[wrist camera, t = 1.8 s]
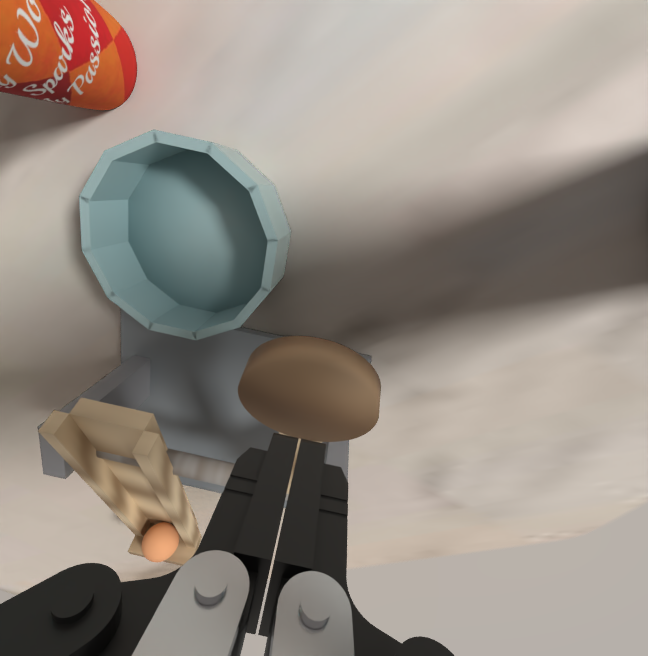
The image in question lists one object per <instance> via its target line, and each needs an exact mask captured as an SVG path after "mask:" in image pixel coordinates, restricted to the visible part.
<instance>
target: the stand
mask: <svg viewBox="0 0 648 656" xmlns="http://www.w3.org/2000/svg"><path fill="white" fill-rule="evenodd" d="M281 337H283V336H279V335H274V334H270V333H265V332H261V331H256V330H252V329H247V328H243V327H240V328H236V329H233V330H229V331H226V332H223V333H219V334H216V335H212V336H209V337H206V338H202V339H199V340H192V339H188V338H183V337H179V336H174V335H170V334H166V333H161V332H157V331H152V330H149V329H147V328H146V327H145V326H143V325H142V324H141V323H140V322H138V321H137V320H136V319H134V318H133V317H132V316H130V315H129V314H128V313H127V312H125V311H124V310H123V309H121V365H120V366H119V367H117V368H116V369H115V370H113V371H112V372H111V373H109V374H108V375H107V376H105V377H104V378H103V379H101V380H100V381H98V382H97V383H96V384H94V385H93V386H92V387H90V388H89V389H88V390H86V391H85V392H84V393H82V394H81V395H80V396H78V397H77V398H76V399H74V400H73V401H72V402H70V403H69V404H68V405H66V406H65V407H64V408H62V409H61V410H60V412H64V413H70V412H71V410H72V409H73V408H74V406H75V405H76V404H77V402H78V401H79V400H80V398H81V397H82V398H86V399H91V400H95V401H99V402H104V403H108V404H113V405H117V406H122V407H126V408H130V409H135V410H139V411H144V412H148V413H153V414H154V416H155V419H156V421H157V424H158V426H159V429H160V431H161V434H162V436H163V439H164V441H165V444H166V446H167V448H169V449H173V450H177V451H182V452H186V453H191V454H195V455H199V456H204V457H208V458H213V459H217V460H222V461H226V462H230V463H236V460H237V459H238V458H239V457H240V456H241V455H242V454H243V453H244V452H246V451H247V450H248V449H249V448H250V447H252V448H256V449H261V450H265V451H268V448H269V445H270V442H271V439H272V436H273V433H279V432H278V431H276V430H273V429H271V428H269V427H268V426H266V425H264V424H262V423H261V422H259V421H258V420H257V419H255V418H254V417H253V416H252V415H251V414H250V413H249V412H248V411H247V410H246V409H245V408H244V406H243V405H242V403H241V401H240V399H239V396H238V385H239V382H240V379H241V377H242V374H243V372H244V369H245V367H246V364H247V362H248V359H249V357H250V355H251V354H252V352H253V351H254V350H255V349H256V348H257V347H259V346H260V345H261V344H263V343H265V342H267V341H270V340H273V339H276V338H281ZM358 354H359V353H358ZM359 355H361V356H362V357H363V358H365V359H366V360H367V361H368V362H369V363H370V364H371V356H368V355H364V354H359ZM44 423H45V422H43V423H42V424H41V425H39V426H38V430H39V429H40V428H41V426H42V425H43V424H44ZM39 440H40V449H41V457H42V466H43V474H46V475H50V476H54V477H59V478H63V479H66V478H67V477H68V476H69V475H70V474H71V473H72V472H73V471H74V469H73V468H72V467H71V466H70V465H69V464H68V463H67V462H66V461H65V460H64V459H63V457H62V456H61V455H60V454H59V453H58V452H57V451H56V450H55V449H54V448H53V447H52V446H51V445H50V444H49V443H48V441H47V440H46V439H45V438H44V437H43V436H42V435H41V434H40V433H39ZM322 443H324V444H326V451H325V460H324V463H325V464H329V465H334V466H339V467H341V468H342V470H343V473H344V475H345V477H346V479H347V482H348V454H349V440H346V441H339V442H322ZM179 478H180V481H181V483H182V484H183V485H187V486H192V487H196V488H200V489H205V490H209V491H214V492H218V493H222V492H223V491H224V488H225V486H221V485H217V484H212V483H208V482H203V481H199V480H195V479H190V478H186V477H181V476H179ZM286 504H287V500H285V503H284V508H286Z"/></svg>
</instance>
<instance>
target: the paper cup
mask: <svg viewBox="0 0 648 656" xmlns="http://www.w3.org/2000/svg"><path fill="white" fill-rule="evenodd" d="M136 77H137V62H136V56H135V52H134V48H133V46H132V43H131V41H130V39H129V37H128V35H127V33H126V32H125V30H124V29H123V28H122V26H121V25H120V24H119V23H118V22H117V21H116V20H115V19H114V18H113V17H112V16H111V15H110V14H109V13H108V12H107V11H106V10H105V9H103V8H102V7H101V6H100V5H99V4H98V3H97V2H95V1H94V0H0V92H5V93H10V94H15V95H20V96H25V97H30V98H35V99H40V100H45V101H50V102H55V103H60V104H65V105H71V106H76V107H82V108H87V109H94V110H110V109H114V108H116V107H119V106H120V105H122V104H123V103H124V102H125V101H126V100H127V99H128V98H129V96H130V95H131V93H132V91H133V89H134V86H135V82H136Z"/></svg>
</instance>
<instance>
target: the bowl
mask: <svg viewBox="0 0 648 656" xmlns="http://www.w3.org/2000/svg"><path fill="white" fill-rule="evenodd" d="M79 204H80V225H81V245H82V252H83V254H84V255H85V257H86V259H87V261H88V263H89V265H90V266H91V268H92V270H93V272H94V274H95V275H96V277H97V279H98V281H99V283H100V285H101V286H102V288H103V290H104V292H105V294H106V296H107V297H108V299H110V300H111V301H112V302H114V303H115V304H116V305H118V306H119V307H120V308H121V309H123V310H124V311H125V312H127V313H128V314H129V315H130V316H132V317H133V318H134V319H136V320H137V321H138V322H140V323H141V324H142V325H143V326H145V327H146V328H147V329H149V330H152V331H157V332H161V333H166V334H170V335H174V336H179V337H183V338H188V339H192V340H199V339H202V338H206V337H209V336H212V335H216V334H219V333H223V332H226V331H229V330H233V329H236V328H240V327H241V325H242V324H243V323H244V322H245V321H246V320H247V318H248V317H249V316H250V315H251V314H252V313H253V311H254V310H255V309H256V308H257V307H258V306H259V304H260V303H261V302H262V301H263V300H264V299H265V298H266V296H267V295H268V294H269V293H270V292H271V291H272V290H273V288H274V287H275V286H276V285H277V284H278V282H279V281H280V280H281V279H282V278H283V277H284V272H285V266H286V260H287V254H288V248H289V242H290V236H291V230H290V227H289V224H288V221H287V218H286V216H285V213H284V210H283V207H282V204H281V201H280V199H279V196H278V193H277V190H276V187H275V185H274V184H273V183H272V182H271V181H270V180H269V179H268V178H267V177H265V176H264V175H263V174H262V173H261V172H260V171H259V170H258V169H257V168H256V167H255V166H254V165H252V164H251V163H250V162H249V161H248V160H247V159H246V158H245V157H244V156H243V155H242V154H241V153H240V152H238V151H237V150H235V149H232V148H229V147H225V146H222V145H219V144H216V143H213V142H208V141H204V140H199V139H194V138H190V137H185V136H181V135H176V134H172V133H167V132H163V131H158V130H151V131H149V132H147V133H144V134H142V135H140V136H138V137H135V138H133V139H131V140H128V141H126V142H124V143H121V144H119V145H117V146H114V147H112V148H110V149H108V150H105V151H104V153H103V154H102V156H101V158H100V160H99V162H98V163H97V165H96V167H95V169H94V171H93V172H92V174H91V176H90V178H89V180H88V181H87V183H86V185H85V187H84V189H83V190H82V192H81V194H80V196H79Z"/></svg>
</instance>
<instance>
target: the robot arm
mask: <svg viewBox="0 0 648 656" xmlns="http://www.w3.org/2000/svg"><path fill="white" fill-rule="evenodd" d="M298 439H299V438H297V437H292V436H288V435H283V434H279V433H273V436H272V439H271V442H270V445H269V448H268V451H265V450H261V449H256V448H252V447H250V448H249V449H248V450H247V451H246V452H244V453H243V454H242V455H241V456H240V457H239V458H238V459H237V460H236V463H235V465H234V467H233V469H232V472H231V474H230V477H229V479H228V481H227V483H226V486H225V488H224V491H223V492H222V495H221V497H220V499H219V502H218V504H217V506H216V509H215V511H214V513H213V515H212V518H211V520H210V522H209V525H208V527H207V529H206V532H205V534H204V536H203V538H202V541H201V543H200V545H199V547H198V549H197V551H196V552H195V554H194V555H193V556H192V557H191V558H190V559H189V560H188V561H187V562H186V563H185V564H184V565H183V566H181V567H180V568H178V569H177V570H175V571H173V572H171V573H169V574H167V575H164V576H161V577H157V578H151V579H144V580H136V581H128V582H120V579H119V577H118V575H117V574H116V572H115V571H114V570H113V569H111V568H110V567H108V566H106V565H102V564H98V563H85V564H80V565H76V566H73V567H70V568H68V569H66V570H63V571H61V572H59V573H57V574H56V575H54V576H52V577H50V578H48V579H46V580H44V581H43V582H41V583H39V584H37V585H35V586H33V587H31V588H30V589H28V590H26V591H24V592H22V593H20V594H18V595H16V596H15V597H13V598H11V599H9V600H7V601H5V602H3V603H2V604H0V656H240V654H241V650H242V646H243V642H244V638H245V634H246V632H247V633H251V634H255V633H256V628H257V624H258V619H259V614H260V610H261V606H262V601H263V597H264V592H265V588H266V584H267V579H268V575H269V570H270V566H271V561H272V557H273V552H274V548H275V543H276V539H277V534H278V530H279V525H280V521H281V516H282V512H283V507H284V503H285V498H286V494H287V489H288V485H289V480H290V476H291V471H292V467H293V462H294V457H295V453H296V448H297V444H298ZM325 451H326V444H324V443H320V442H315V441H311V440H306V439H302V438H301V441H300V445H299V450H298V454H297V459H296V463H295V468H294V472H293V477H292V481H291V486H290V490H289V495H288V500H287V504H286V509H285V513H284V518H283V523H282V527H281V532H280V537H279V541H278V546H277V551H276V555H275V560H274V564H273V569H272V574H271V578H270V583H269V588H268V593H267V597H266V602H265V606H264V611H263V616H262V621H261V625H260V630H259V635H262V636H266V637H268V638H267V643H266V648H265V653H264V656H454V655H453V654H452V653H451V652H450V651H449V650H448V649H447V648H446V647H444V646H443V645H442V644H440V643H438V642H437V641H435V640H432V639H430V638H426V637H413V638H410V639H408V640H406V641H405V642H403V643H402V644H401V643H400V642H398V641H397V640H395V639H393V638H392V637H390V636H389V635H387V634H385V633H384V632H382V631H381V630H379V629H377V628H376V627H375V626H373V625H372V624H370V623H369V622H368V621H367V620H366V619H365V618H363V616H362V615H361V614H360V613H359V611H358V610H357V608H356V607H355V605H354V604H353V601H352V599H351V597H350V594H349V592H348V587H347V582H346V566H347V515H348V504H347V502H348V482H347V479H346V477H345V475H344V473H343V470H342V468H341V467H339V466H334V465H329V464H325V463H324V460H325Z"/></svg>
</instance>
